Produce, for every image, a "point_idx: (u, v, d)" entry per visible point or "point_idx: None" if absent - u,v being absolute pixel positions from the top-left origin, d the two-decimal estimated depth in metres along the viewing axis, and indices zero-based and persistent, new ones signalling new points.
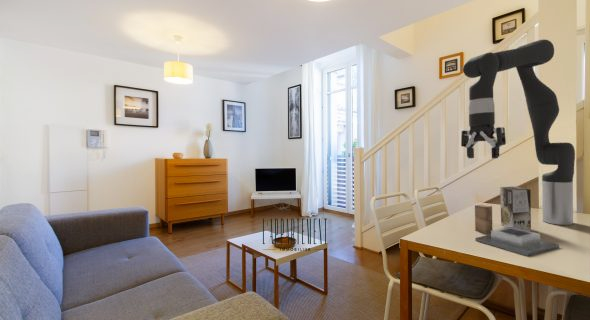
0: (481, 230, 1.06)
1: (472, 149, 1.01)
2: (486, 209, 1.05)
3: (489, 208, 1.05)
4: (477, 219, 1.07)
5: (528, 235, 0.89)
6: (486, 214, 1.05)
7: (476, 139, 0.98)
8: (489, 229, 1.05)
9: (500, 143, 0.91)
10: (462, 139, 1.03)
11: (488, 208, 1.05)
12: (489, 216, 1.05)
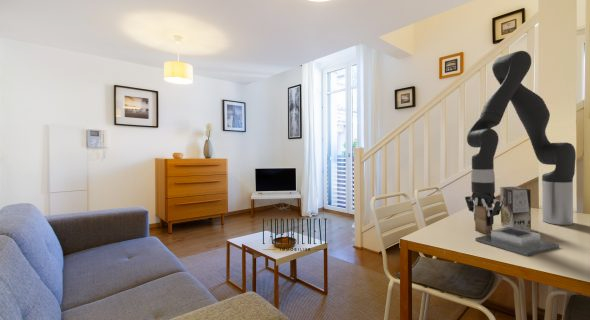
0: (481, 230, 1.06)
1: None
2: None
3: None
4: (477, 219, 1.07)
5: (528, 235, 0.89)
6: (486, 214, 1.05)
7: (480, 204, 1.07)
8: (489, 229, 1.05)
9: (494, 214, 1.02)
10: (468, 204, 1.12)
11: None
12: None
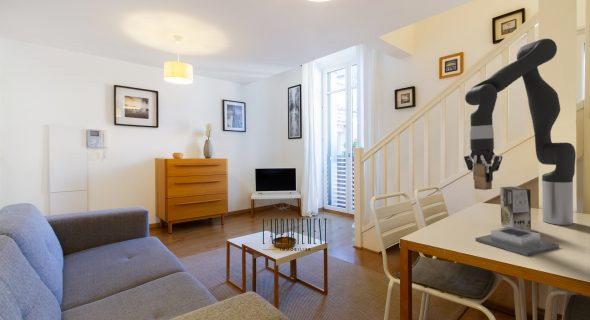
0: (480, 187, 1.06)
1: None
2: None
3: None
4: (476, 177, 1.07)
5: (528, 235, 0.89)
6: (485, 170, 1.04)
7: (479, 161, 1.06)
8: (488, 186, 1.05)
9: (493, 169, 1.02)
10: (467, 164, 1.11)
11: None
12: None
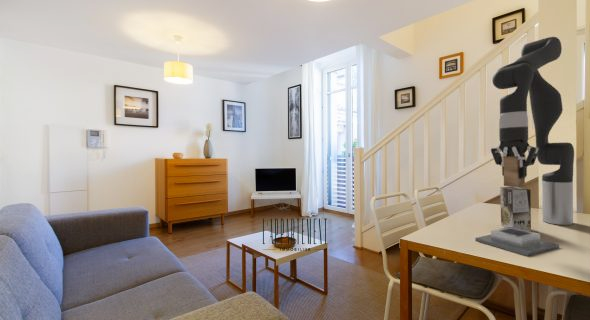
0: (511, 184, 0.91)
1: None
2: None
3: None
4: (506, 172, 0.92)
5: (528, 235, 0.89)
6: None
7: (510, 154, 0.91)
8: (521, 183, 0.90)
9: (528, 163, 0.87)
10: (494, 157, 0.96)
11: None
12: None
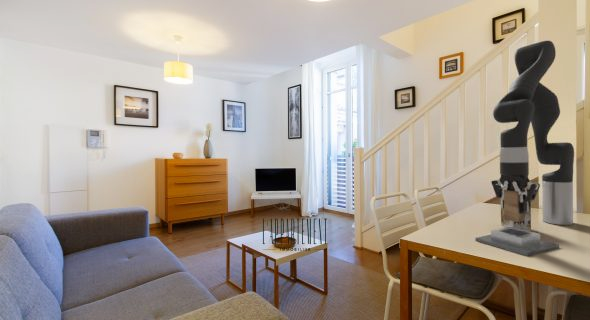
0: (512, 219, 0.91)
1: None
2: None
3: None
4: (507, 206, 0.92)
5: (528, 235, 0.89)
6: (518, 199, 0.90)
7: (510, 188, 0.92)
8: (521, 217, 0.90)
9: (529, 199, 0.87)
10: (495, 189, 0.96)
11: None
12: None
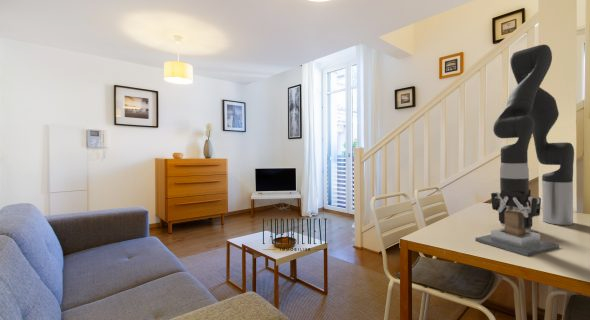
0: None
1: None
2: (519, 215, 0.90)
3: (522, 214, 0.90)
4: (507, 227, 0.92)
5: (528, 235, 0.89)
6: (519, 221, 0.90)
7: (509, 204, 0.93)
8: None
9: (534, 215, 0.86)
10: (493, 202, 0.97)
11: (521, 214, 0.90)
12: (522, 224, 0.91)
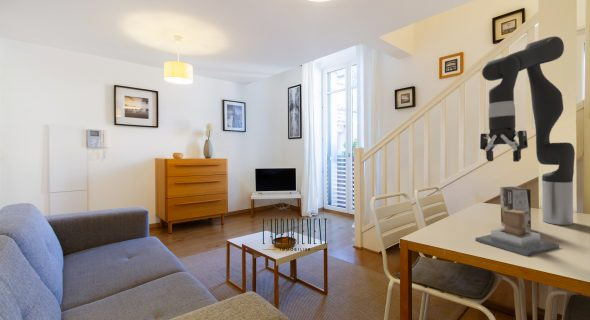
0: None
1: (491, 152, 1.01)
2: (519, 215, 0.90)
3: (522, 214, 0.90)
4: (507, 227, 0.92)
5: (528, 235, 0.89)
6: (519, 221, 0.90)
7: (496, 142, 0.98)
8: None
9: (522, 146, 0.91)
10: (481, 142, 1.03)
11: (521, 214, 0.90)
12: (522, 224, 0.91)
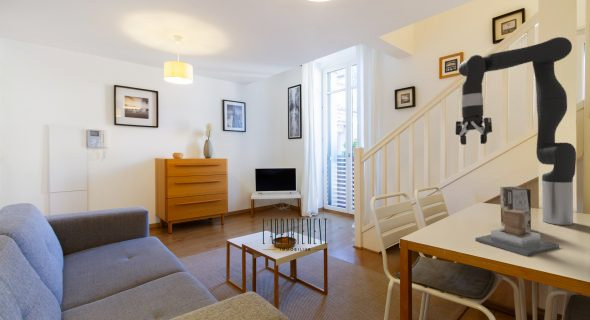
0: None
1: (465, 137, 1.19)
2: (519, 215, 0.90)
3: (522, 214, 0.90)
4: (507, 227, 0.92)
5: (528, 235, 0.89)
6: (519, 221, 0.90)
7: (468, 128, 1.16)
8: None
9: (487, 130, 1.09)
10: (456, 128, 1.21)
11: (521, 214, 0.90)
12: (522, 224, 0.91)
